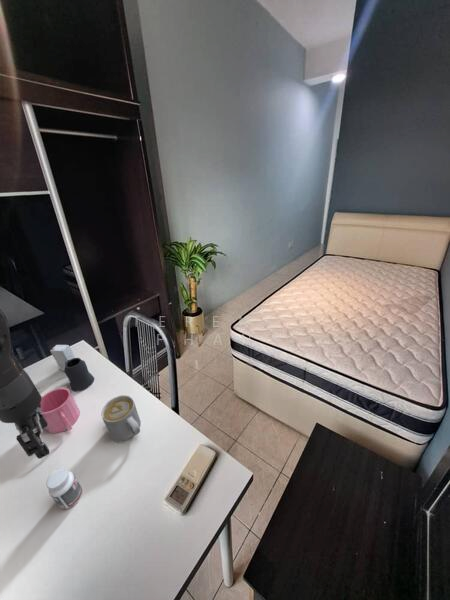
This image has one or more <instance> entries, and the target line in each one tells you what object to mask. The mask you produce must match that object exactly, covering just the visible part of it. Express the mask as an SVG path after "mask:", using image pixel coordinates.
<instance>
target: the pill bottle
mask: <svg viewBox="0 0 450 600" xmlns="http://www.w3.org/2000/svg"><path fill="white" fill-rule="evenodd" d="M45 485H46V487H47V489H48V494H49V495H50V497H51V498H52V499H53V501H54V502H55V503H56V505H57V506H58V507H59V508H60V509H62V510H67V509H71V508H72V507H74V506H75V505H76V504H77V503H78V502H79V501H80V499H81V497H82V495H83V487H82V485H81V484H80V482H79V481H78V479H77V478H76V476H75V474H74V473H73V472H71V471H69V470H68V469H67V468H66V467H59V468H57V469H55V470H54V471H52V472H51V473H50V475H48V477H47V479H46V482H45Z"/></svg>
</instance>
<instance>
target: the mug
mask: <svg viewBox="0 0 450 600" xmlns="http://www.w3.org/2000/svg"><path fill="white" fill-rule="evenodd" d="M63 372H64V373H65V375H66V377H67V379H68V381H69V390H70V391H72V392H75V393H76V392H82V391H84V390H86V389H88V388H90V387H91V386H92V384H93V383H94V382H95V377H94V375H93V374H92V373H91V372H90V371H89V369H88V365H87V364H86V361H85V360H82V359H81V358H80V357H75V358H73V359H71V360H68V361H66V362H65V369H64V371H63Z"/></svg>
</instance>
